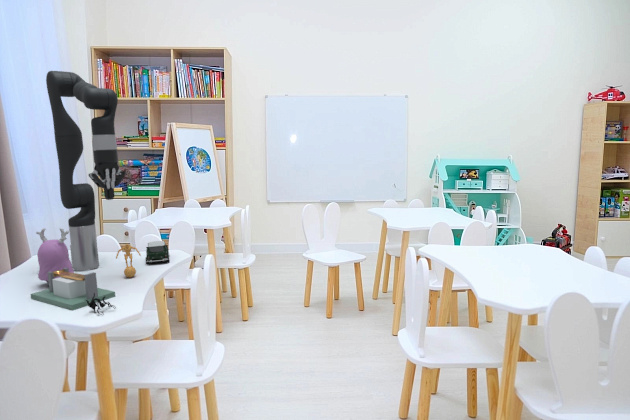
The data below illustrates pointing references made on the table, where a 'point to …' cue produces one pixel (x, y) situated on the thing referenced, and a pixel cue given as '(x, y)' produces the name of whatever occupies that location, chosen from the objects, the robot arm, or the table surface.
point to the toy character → (53, 255)
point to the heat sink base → (77, 300)
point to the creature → (93, 304)
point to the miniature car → (157, 252)
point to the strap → (69, 275)
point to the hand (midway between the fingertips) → (109, 199)
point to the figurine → (130, 270)
